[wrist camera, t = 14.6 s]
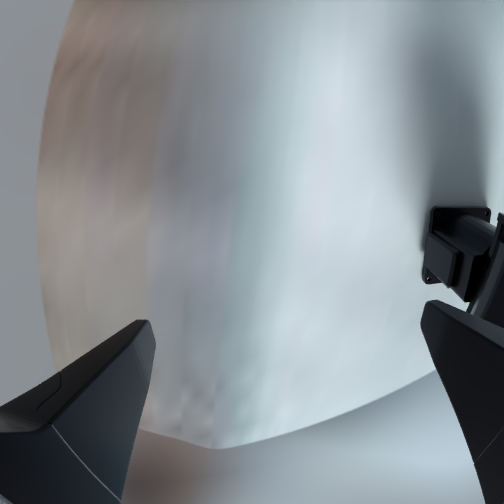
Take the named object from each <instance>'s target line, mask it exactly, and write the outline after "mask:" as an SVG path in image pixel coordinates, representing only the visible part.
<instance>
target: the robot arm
mask: <svg viewBox="0 0 504 504" xmlns="http://www.w3.org/2000/svg"><path fill="white" fill-rule="evenodd" d="M437 211H438V215H436V212H437ZM485 213H486V214H485ZM490 217H491V210H490V209H489V208H488V207H480V206H435V207H433V208H432V210H431V215H430V226H429V233H428V235H427V243H426V250H425V257H424V270H423V276H422V280H423V281H424V282H425V283H426V284H436V283H443V284H444V285H445V286H446V287H447V288H451V289H452V290H453V291H454V292H455V293H456V294H457V295H458V296H459V297H460V298H461V299H462V300H463V301H464V302H470V303H469V306H468V308H467V310H466V312H465V311H463V310H460V309H458V308H456V307H453V306H451V305H448V304H446V303H444V302H441V301H439V300H431V301H427V302H426V304H425V306H424V310H423V314H422V318H421V323H420V325H421V330H422V332H423V335H424V338H425V341H426V343H427V346H428V349H429V352H430V354H431V357H432V360H433V363H434V365H435V367H436V370H437V372H438V374H439V376H440V378H441V381H442V382H443V385H444V387H445V390H446V392H447V394H448V397H449V399H450V401H451V404H452V406H453V408H454V411H455V413H456V416H457V418H458V421H459V423H460V426H461V428H462V431H463V434H464V437H465V439H466V442H467V445H468V448H469V451H470V453H471V456H472V459H473V462H474V466H475V469H476V472H477V475H478V479H479V482H480V485H481V489H482V493H483V496H484V499H485V504H504V214H503V213H500V212H499V214H498V218H497V220H498V223H497V227H495V226H493V225H492V224H490ZM429 276H430V277H429ZM428 277H429V279H427V278H428ZM155 348H156V342H155V338H154V334H153V331H152V327H151V324H150V322H149V321H148V320H135V321H134V322H132V323H131V324H129V325H128V326H126V327H125V328H123V329H122V330H120V331H119V332H117V333H116V334H114V335H113V336H111V337H110V338H108V339H107V340H105V341H104V342H102V343H101V344H99V345H98V346H96V347H95V348H93V349H92V350H90V351H89V352H87V353H86V354H84V355H83V356H81V357H80V358H78V359H77V360H75V361H74V362H72V363H71V364H69V365H68V366H67V367H65V368H64V369H62V370H61V371H59V372H58V373H56V374H55V375H53V376H52V377H50V378H49V379H47V380H46V381H44V382H42V383H41V384H39V385H38V386H36V387H34V388H33V389H31V390H29V391H27V392H25V393H24V394H22V395H20V396H18V397H17V398H15V399H13V400H11V401H9V402H8V403H6V404H4V405H2V406H0V504H121V502H120V501H121V498H122V494H123V489H124V484H125V479H126V475H127V471H128V467H129V462H130V458H131V454H132V450H133V445H134V442H135V438H136V434H137V430H138V426H139V422H140V418H141V415H142V411H143V407H144V404H145V400H146V396H147V393H148V389H149V384H150V378H151V372H152V366H153V360H154V354H155Z"/></svg>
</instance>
